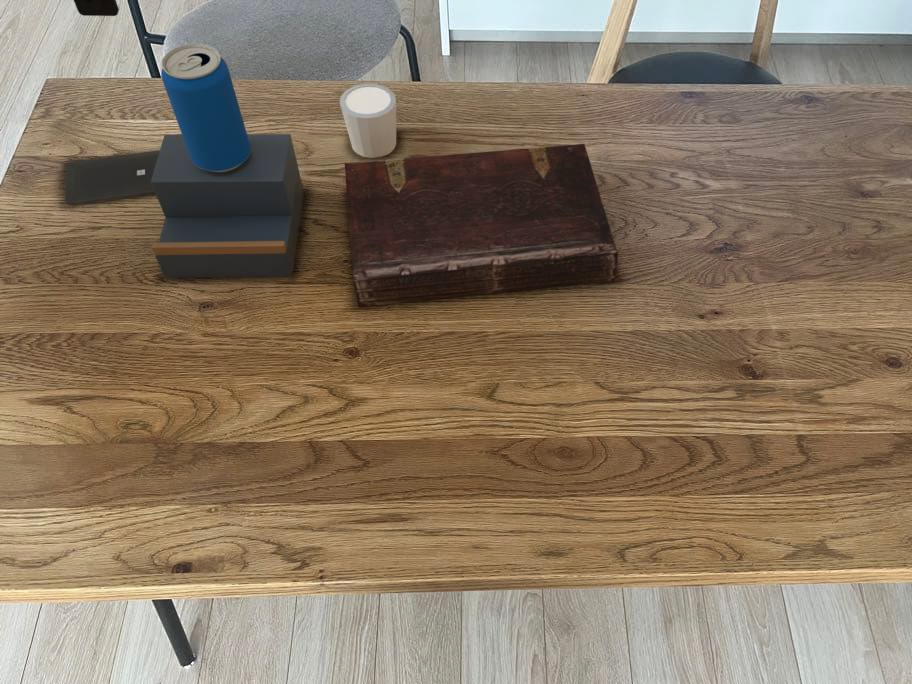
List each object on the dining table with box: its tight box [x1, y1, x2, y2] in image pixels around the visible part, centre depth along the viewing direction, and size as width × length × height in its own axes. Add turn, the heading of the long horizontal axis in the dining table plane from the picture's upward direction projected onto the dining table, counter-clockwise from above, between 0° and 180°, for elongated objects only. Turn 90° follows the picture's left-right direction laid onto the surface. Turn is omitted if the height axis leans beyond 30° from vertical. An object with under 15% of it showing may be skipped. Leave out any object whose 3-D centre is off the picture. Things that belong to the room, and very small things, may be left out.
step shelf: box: [151, 133, 305, 279], centre depth 98 cm, size 14×14×9 cm
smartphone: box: [64, 150, 160, 206], centre depth 106 cm, size 8×15×1 cm, turn 105°
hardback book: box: [344, 143, 619, 308], centre depth 101 cm, size 29×19×5 cm, turn 100°
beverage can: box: [161, 43, 251, 172], centre depth 91 cm, size 6×6×12 cm
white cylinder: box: [339, 83, 397, 159], centre depth 109 cm, size 7×7×7 cm
